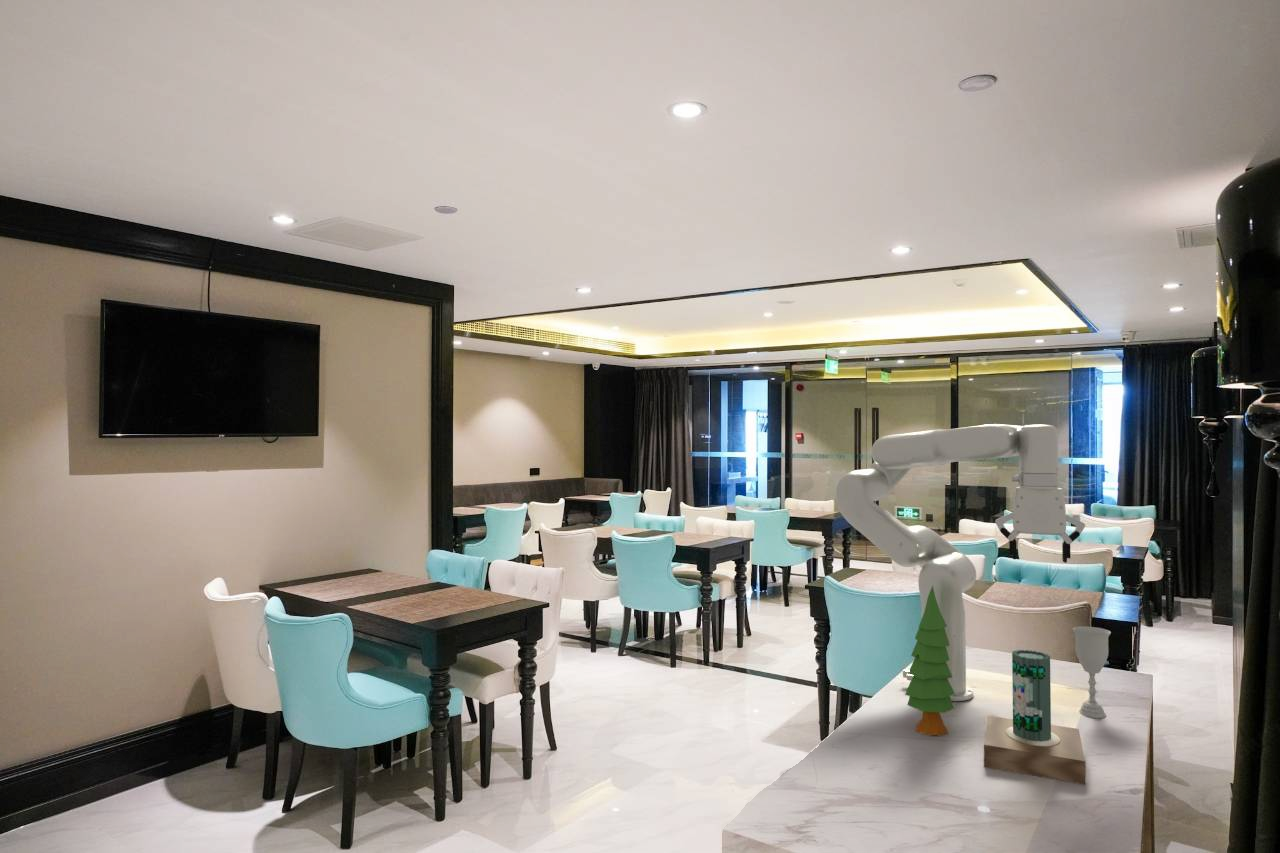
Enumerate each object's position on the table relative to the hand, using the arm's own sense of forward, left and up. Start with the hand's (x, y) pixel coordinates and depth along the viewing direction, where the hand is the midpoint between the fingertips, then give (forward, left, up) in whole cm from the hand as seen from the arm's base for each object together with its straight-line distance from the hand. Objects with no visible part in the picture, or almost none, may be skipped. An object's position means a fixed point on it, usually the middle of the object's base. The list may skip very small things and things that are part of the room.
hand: (1039, 560), depth 164 cm
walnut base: (-2, -26, -33) cm, 42 cm away
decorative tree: (-21, -20, -34) cm, 44 cm away
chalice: (+10, +5, -34) cm, 35 cm away
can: (-2, -26, -29) cm, 39 cm away
